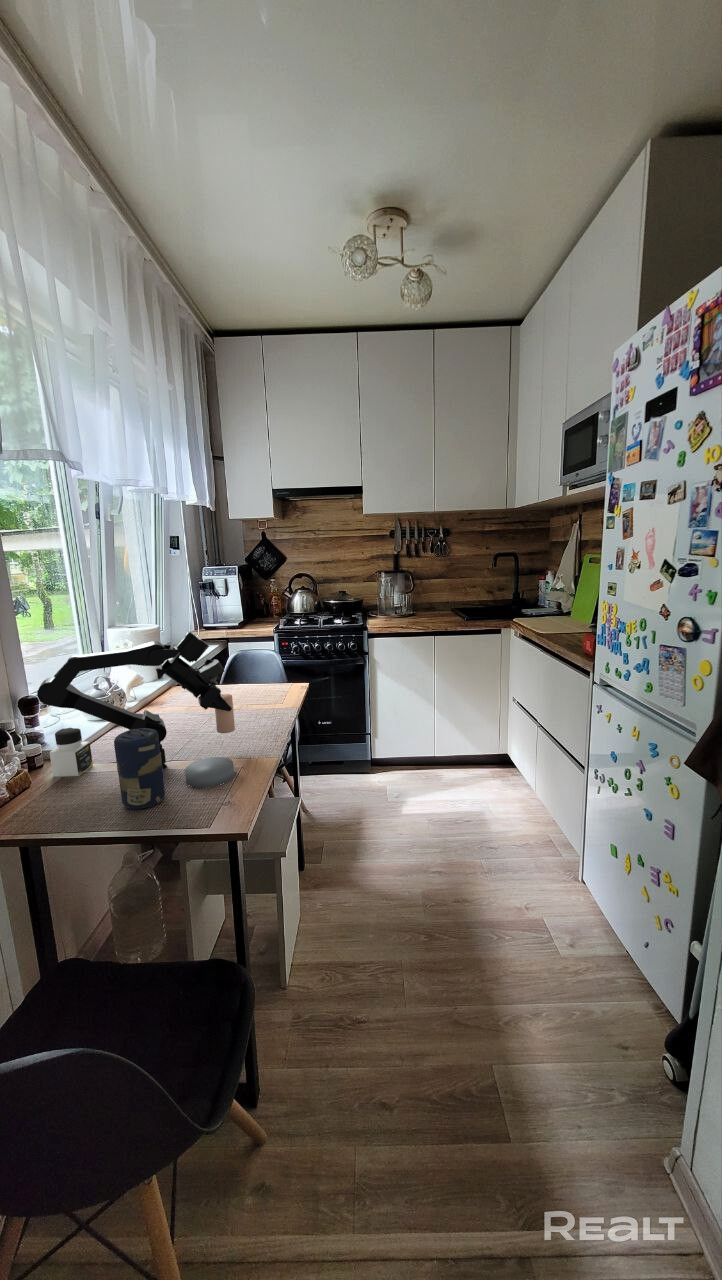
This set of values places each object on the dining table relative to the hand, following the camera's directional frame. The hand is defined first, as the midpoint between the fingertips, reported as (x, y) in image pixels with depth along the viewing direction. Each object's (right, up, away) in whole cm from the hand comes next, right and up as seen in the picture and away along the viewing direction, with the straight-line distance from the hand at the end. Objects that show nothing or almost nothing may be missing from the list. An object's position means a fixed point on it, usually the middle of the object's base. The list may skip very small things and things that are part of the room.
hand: (229, 707), depth 146 cm
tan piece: (-1, -7, +1) cm, 7 cm away
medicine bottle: (-41, -17, -6) cm, 45 cm away
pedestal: (-1, -16, -14) cm, 21 cm away
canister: (-13, -19, -25) cm, 34 cm away
